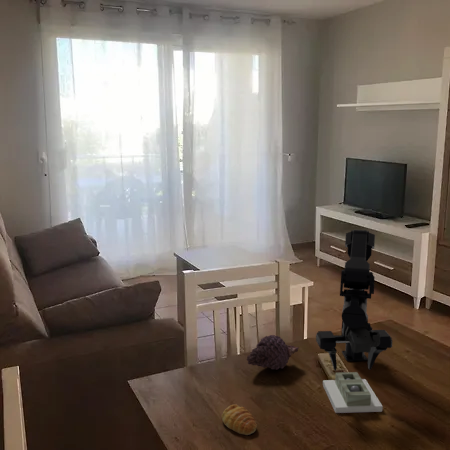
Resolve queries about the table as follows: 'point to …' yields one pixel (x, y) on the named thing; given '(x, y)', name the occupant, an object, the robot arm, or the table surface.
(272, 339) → the pine cone
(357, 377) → the bar
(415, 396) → the table surface
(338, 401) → the post board
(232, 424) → the pastry
